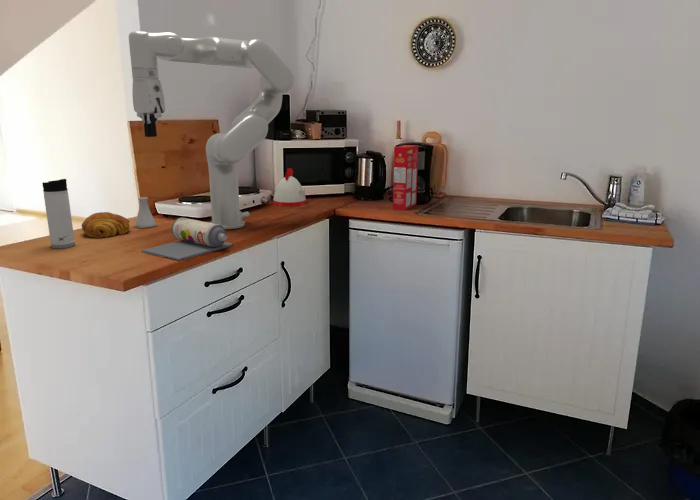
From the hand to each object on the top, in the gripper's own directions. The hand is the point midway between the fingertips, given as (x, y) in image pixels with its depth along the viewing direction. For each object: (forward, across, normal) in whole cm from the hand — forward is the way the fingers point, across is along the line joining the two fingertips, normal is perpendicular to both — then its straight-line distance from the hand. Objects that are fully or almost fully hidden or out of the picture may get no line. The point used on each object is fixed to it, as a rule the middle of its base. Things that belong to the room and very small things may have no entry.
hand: (150, 136), depth 168 cm
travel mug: (+31, +9, +27) cm, 42 cm away
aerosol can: (+27, -14, +3) cm, 31 cm away
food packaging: (+31, -43, -89) cm, 104 cm away
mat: (+31, -24, +8) cm, 40 cm away
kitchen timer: (+31, +2, -68) cm, 75 cm away
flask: (+31, +13, -4) cm, 34 cm away
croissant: (+32, +14, +10) cm, 36 cm away
